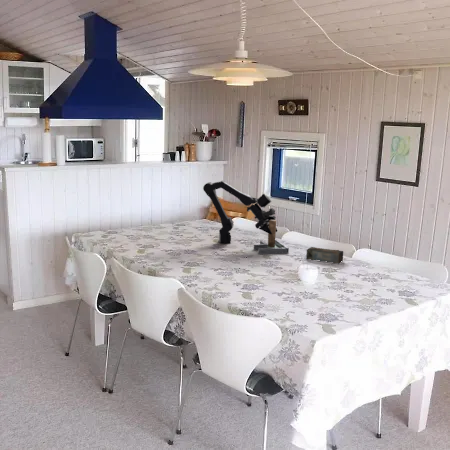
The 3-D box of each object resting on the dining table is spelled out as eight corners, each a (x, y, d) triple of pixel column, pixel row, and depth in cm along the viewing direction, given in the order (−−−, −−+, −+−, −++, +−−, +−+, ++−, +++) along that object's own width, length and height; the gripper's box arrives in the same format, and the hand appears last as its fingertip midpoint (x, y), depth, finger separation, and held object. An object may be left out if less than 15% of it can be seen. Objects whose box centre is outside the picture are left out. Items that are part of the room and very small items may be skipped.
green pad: (267, 248, 323) (267, 247, 323) (262, 245, 331) (262, 244, 331) (278, 248, 325) (278, 247, 325) (273, 244, 333) (274, 244, 333)
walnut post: (268, 247, 324) (270, 221, 321) (266, 245, 328) (268, 219, 325) (275, 247, 325) (277, 221, 322) (273, 245, 329) (274, 219, 326)
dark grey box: (310, 256, 309) (311, 245, 307) (343, 261, 300) (344, 250, 299) (305, 259, 302) (306, 248, 300) (339, 265, 293) (340, 253, 292)
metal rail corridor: (258, 254, 310) (259, 249, 309) (248, 245, 329) (248, 240, 329) (288, 253, 314) (288, 248, 313) (276, 244, 334) (276, 239, 333)
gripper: (260, 206, 315) (277, 227, 312) (273, 202, 331) (289, 222, 329) (248, 218, 320) (264, 238, 318) (261, 213, 337) (276, 233, 334)
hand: (274, 232), depth 324 cm, fingers open, 8 cm apart
